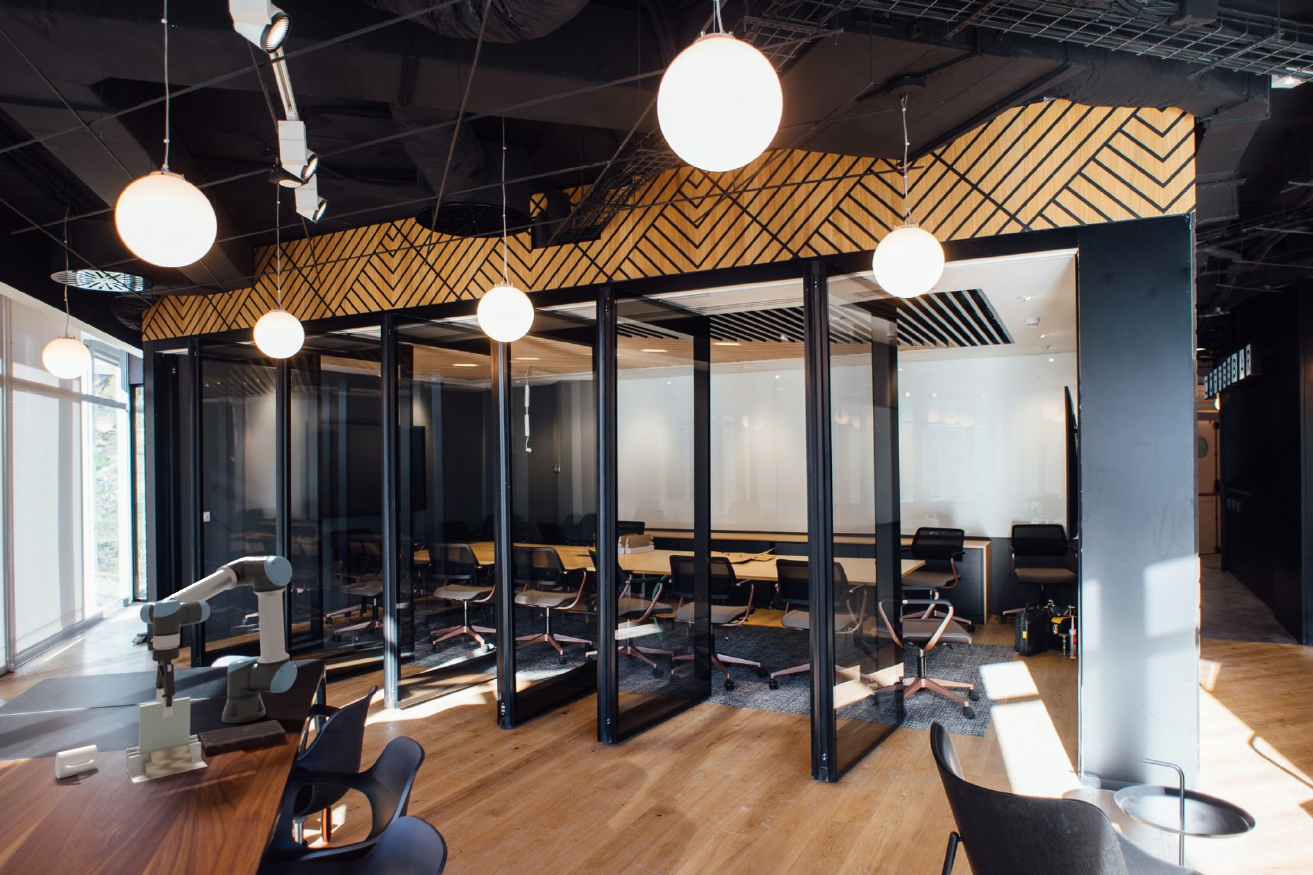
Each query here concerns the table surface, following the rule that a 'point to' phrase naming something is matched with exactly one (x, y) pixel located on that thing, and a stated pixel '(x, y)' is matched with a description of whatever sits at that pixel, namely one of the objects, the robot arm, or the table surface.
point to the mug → (76, 761)
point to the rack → (137, 762)
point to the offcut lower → (167, 767)
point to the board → (164, 726)
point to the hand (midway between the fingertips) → (164, 712)
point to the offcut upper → (170, 755)
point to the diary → (243, 737)
